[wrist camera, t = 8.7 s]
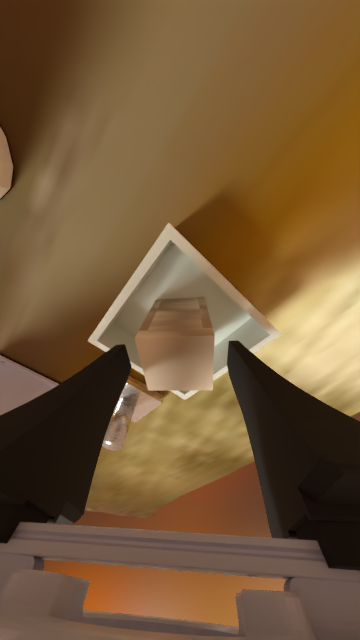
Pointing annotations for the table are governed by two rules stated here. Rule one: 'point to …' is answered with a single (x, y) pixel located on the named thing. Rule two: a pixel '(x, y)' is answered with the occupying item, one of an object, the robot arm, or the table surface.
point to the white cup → (5, 165)
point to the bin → (182, 282)
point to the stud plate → (141, 398)
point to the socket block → (177, 345)
